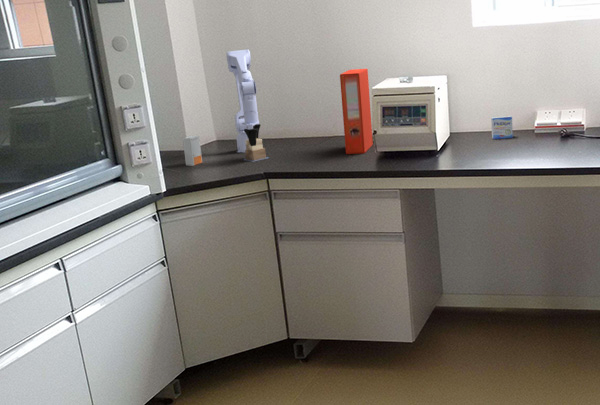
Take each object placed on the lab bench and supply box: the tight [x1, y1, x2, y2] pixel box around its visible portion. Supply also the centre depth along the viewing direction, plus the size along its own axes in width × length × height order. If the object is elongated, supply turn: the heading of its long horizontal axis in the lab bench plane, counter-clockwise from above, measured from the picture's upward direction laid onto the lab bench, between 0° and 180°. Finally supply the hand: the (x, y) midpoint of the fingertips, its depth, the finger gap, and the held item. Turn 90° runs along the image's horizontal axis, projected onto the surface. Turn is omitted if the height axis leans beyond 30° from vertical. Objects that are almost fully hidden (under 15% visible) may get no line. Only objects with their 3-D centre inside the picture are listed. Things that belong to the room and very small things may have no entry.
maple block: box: [245, 137, 264, 151], centre depth 320 cm, size 5×5×4 cm
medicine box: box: [490, 115, 514, 140], centre depth 313 cm, size 8×4×9 cm, turn 81°
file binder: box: [339, 68, 374, 155], centre depth 317 cm, size 8×17×32 cm, turn 164°
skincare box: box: [182, 135, 203, 167], centre depth 323 cm, size 6×4×12 cm
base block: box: [245, 147, 267, 162], centre depth 320 cm, size 6×6×4 cm
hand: (254, 144), depth 319 cm, fingers open, 7 cm apart
